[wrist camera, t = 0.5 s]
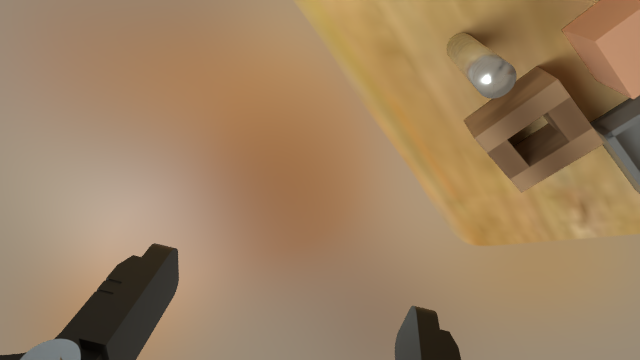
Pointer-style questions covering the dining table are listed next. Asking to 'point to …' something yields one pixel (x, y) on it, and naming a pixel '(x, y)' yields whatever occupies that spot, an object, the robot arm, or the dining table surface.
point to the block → (610, 43)
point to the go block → (545, 144)
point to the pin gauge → (481, 66)
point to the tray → (623, 137)
